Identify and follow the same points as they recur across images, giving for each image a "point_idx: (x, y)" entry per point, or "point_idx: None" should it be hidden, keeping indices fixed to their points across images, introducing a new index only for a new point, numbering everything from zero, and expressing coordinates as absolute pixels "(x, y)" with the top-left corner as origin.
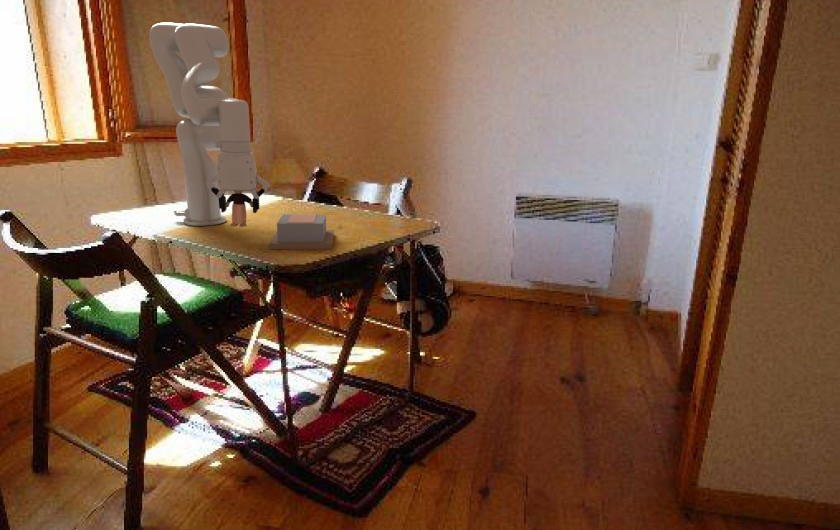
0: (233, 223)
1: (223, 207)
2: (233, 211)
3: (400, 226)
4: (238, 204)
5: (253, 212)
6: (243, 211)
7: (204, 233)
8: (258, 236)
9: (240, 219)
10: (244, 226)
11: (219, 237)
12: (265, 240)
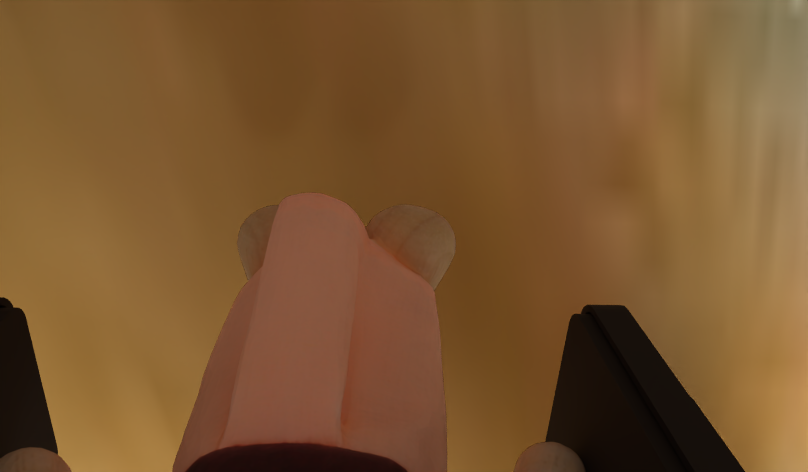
0: (407, 240)
1: (610, 360)
2: (417, 377)
3: None
4: (297, 445)
5: (10, 306)
6: (233, 371)
7: (689, 362)
8: (161, 250)
9: (287, 228)
10: (257, 212)
11: (552, 223)
12: (13, 68)
